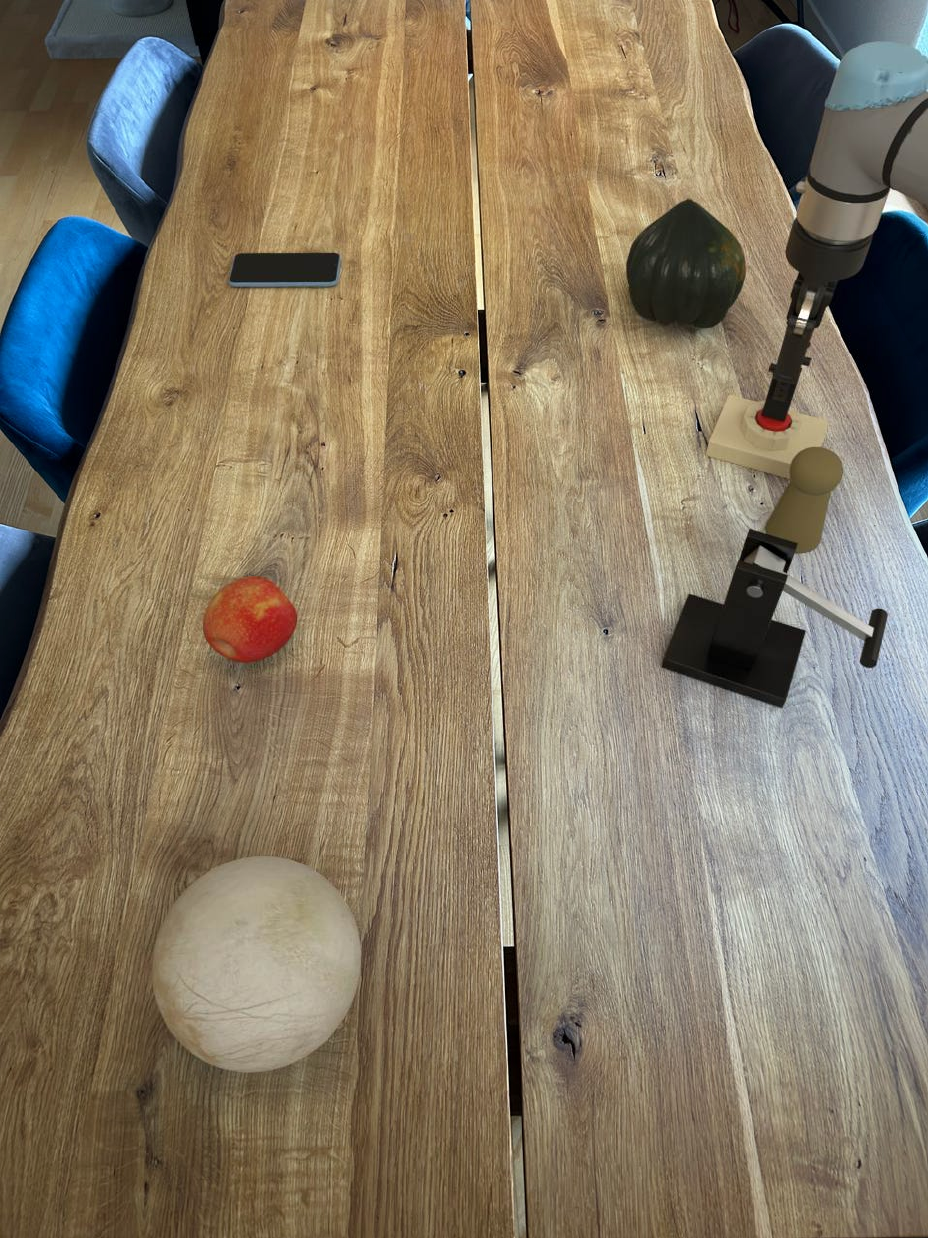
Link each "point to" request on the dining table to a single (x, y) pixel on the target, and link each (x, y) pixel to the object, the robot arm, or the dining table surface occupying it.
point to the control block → (762, 437)
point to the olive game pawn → (806, 498)
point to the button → (772, 423)
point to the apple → (249, 620)
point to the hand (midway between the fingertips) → (774, 414)
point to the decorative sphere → (256, 964)
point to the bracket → (741, 631)
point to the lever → (829, 608)
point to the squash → (685, 268)
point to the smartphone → (285, 269)
